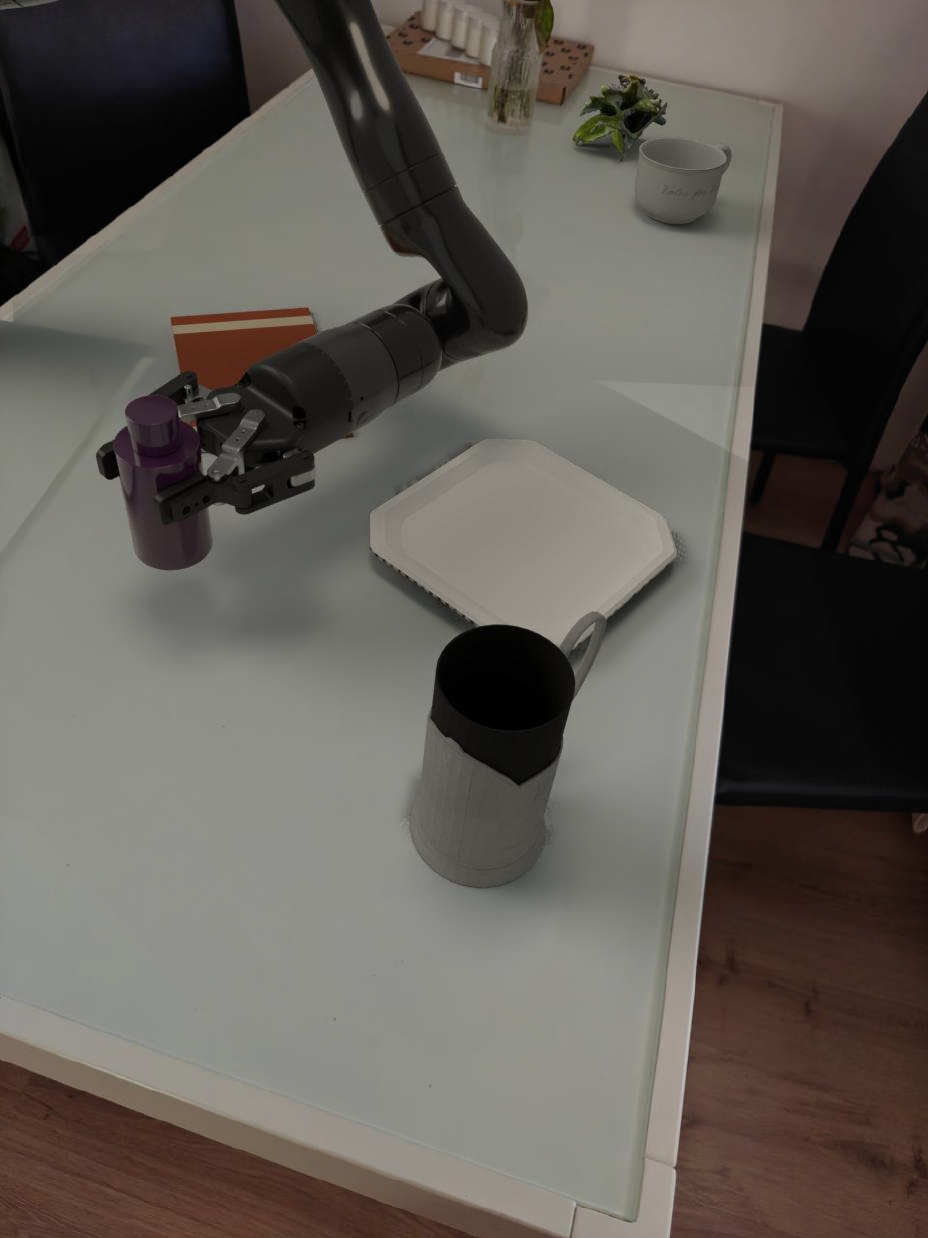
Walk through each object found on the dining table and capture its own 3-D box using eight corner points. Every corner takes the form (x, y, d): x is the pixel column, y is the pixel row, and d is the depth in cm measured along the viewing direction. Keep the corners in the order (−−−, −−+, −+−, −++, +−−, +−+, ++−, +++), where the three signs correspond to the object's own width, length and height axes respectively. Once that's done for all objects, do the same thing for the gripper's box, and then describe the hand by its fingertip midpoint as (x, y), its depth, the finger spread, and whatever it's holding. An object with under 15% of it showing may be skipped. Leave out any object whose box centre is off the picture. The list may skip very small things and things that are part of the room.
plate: (342, 547, 80) (342, 527, 78) (503, 442, 91) (506, 422, 90) (542, 689, 72) (547, 669, 70) (692, 553, 83) (699, 534, 82)
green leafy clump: (612, 177, 147) (671, 106, 142) (627, 195, 138) (690, 121, 133) (556, 125, 142) (615, 50, 137) (568, 140, 133) (631, 61, 128)
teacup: (655, 237, 123) (670, 172, 117) (611, 199, 129) (624, 135, 123) (746, 225, 127) (765, 162, 121) (700, 188, 134) (716, 127, 128)
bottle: (121, 562, 69) (91, 427, 60) (151, 512, 72) (126, 378, 64) (197, 576, 68) (177, 442, 60) (223, 526, 72) (207, 392, 64)
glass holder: (381, 825, 63) (389, 674, 52) (522, 702, 71) (555, 548, 60) (484, 915, 59) (516, 773, 49) (621, 775, 67) (675, 626, 56)
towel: (171, 320, 100) (170, 316, 100) (308, 310, 104) (308, 306, 104) (195, 453, 87) (194, 449, 86) (352, 436, 90) (352, 432, 90)
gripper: (254, 304, 74) (52, 391, 64) (393, 390, 68) (193, 499, 59) (260, 389, 79) (74, 481, 70) (389, 475, 73) (205, 587, 64)
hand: (129, 488), depth 64 cm, fingers closed on bottle, 5 cm apart
